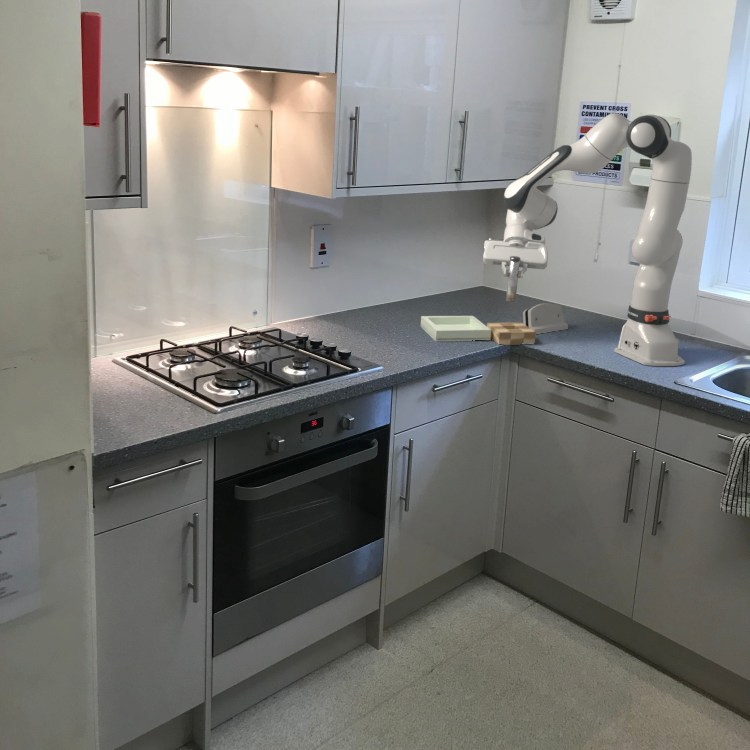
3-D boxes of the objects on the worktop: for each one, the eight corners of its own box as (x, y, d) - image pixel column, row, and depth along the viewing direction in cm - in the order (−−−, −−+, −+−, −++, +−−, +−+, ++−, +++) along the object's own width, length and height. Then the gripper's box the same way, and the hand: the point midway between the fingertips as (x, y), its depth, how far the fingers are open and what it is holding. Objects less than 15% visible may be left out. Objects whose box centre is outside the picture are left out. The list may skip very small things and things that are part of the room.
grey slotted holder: (534, 335, 294) (529, 305, 293) (524, 336, 298) (519, 306, 297) (569, 329, 303) (564, 300, 303) (558, 330, 307) (554, 301, 307)
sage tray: (490, 340, 285) (491, 330, 283) (435, 341, 281) (436, 330, 279) (472, 325, 301) (473, 315, 300) (420, 326, 297) (421, 316, 296)
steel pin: (517, 302, 282) (521, 258, 278) (507, 302, 282) (512, 258, 277) (513, 299, 285) (518, 256, 281) (504, 299, 285) (508, 256, 280)
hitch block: (534, 344, 283) (535, 332, 282) (498, 345, 280) (499, 332, 279) (520, 334, 294) (521, 322, 293) (485, 334, 291) (486, 322, 290)
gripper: (484, 232, 285) (480, 268, 279) (550, 237, 282) (546, 273, 276) (484, 243, 291) (479, 279, 285) (548, 249, 288) (544, 285, 282)
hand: (513, 276), depth 280 cm, fingers closed on steel pin, 3 cm apart
